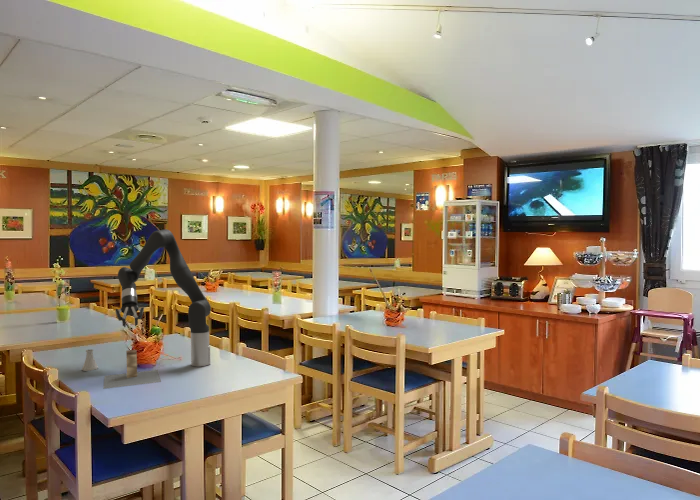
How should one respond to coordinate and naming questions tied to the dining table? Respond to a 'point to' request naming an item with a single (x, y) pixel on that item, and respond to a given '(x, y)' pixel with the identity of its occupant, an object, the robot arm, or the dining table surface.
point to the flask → (89, 362)
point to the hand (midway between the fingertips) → (130, 325)
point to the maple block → (131, 363)
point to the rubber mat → (131, 379)
